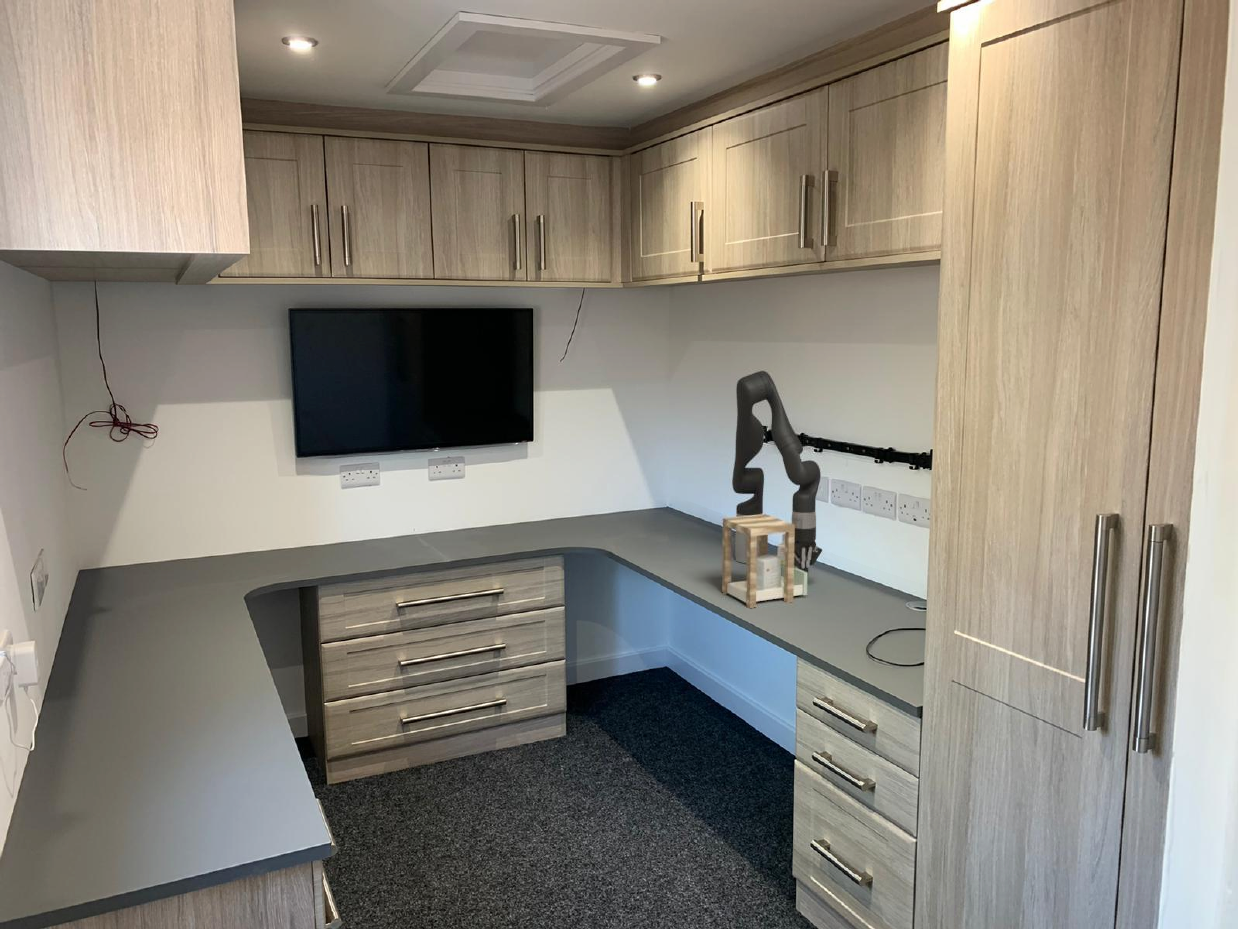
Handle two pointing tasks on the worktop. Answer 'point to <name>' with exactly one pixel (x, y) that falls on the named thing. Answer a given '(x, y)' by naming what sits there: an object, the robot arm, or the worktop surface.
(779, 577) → the small box
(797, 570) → the drawer
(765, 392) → the robot arm
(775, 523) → the wooden step stool
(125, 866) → the worktop surface
